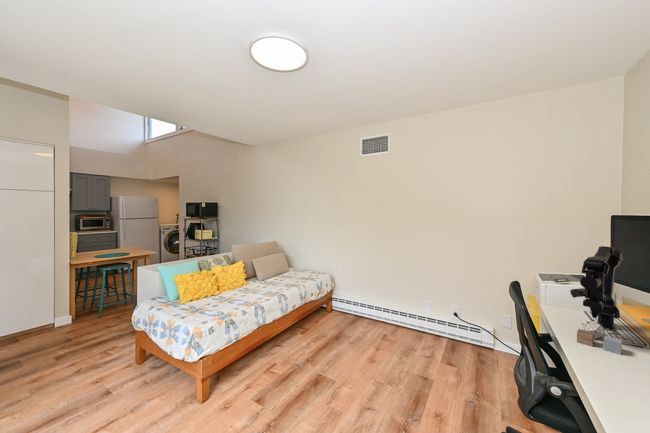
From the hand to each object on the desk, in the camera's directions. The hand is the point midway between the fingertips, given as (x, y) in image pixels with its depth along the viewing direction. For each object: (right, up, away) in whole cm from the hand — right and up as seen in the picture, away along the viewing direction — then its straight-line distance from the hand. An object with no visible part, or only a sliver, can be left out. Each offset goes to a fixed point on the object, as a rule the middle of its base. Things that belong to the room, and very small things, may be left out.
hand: (594, 317), depth 124 cm
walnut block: (-8, -10, -4) cm, 14 cm away
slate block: (-3, -10, -10) cm, 15 cm away
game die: (0, -10, 0) cm, 10 cm away
